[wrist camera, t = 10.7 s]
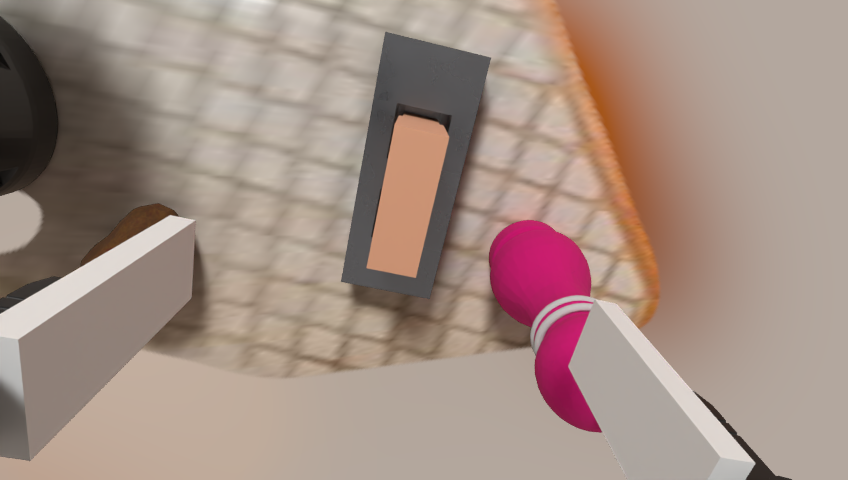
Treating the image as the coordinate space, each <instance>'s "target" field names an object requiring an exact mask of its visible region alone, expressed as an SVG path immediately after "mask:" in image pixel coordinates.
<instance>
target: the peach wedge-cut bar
mask: <svg viewBox="0 0 848 480" xmlns="http://www.w3.org/2000/svg"><path fill="white" fill-rule="evenodd" d="M448 141H449V135H448V133H447V131H446V129H445V127H444V126H443V125H440V124H439V122H438V119H435V118H430V117H426V116H422V115H417V114H413V113H409V112H404V114H403V116H400V115H399V117H398V119H397V121H396V123H395V125H394V130H393V136H392V141H391V146H390V151H389V156H388V161H387V166H386V171H385V176H384V181H383V186H382V191H381V197H380V202H379V207H378V212H377V217H376V222H375V227H374V232H373V237H372V242H371V247H370V253H369V258H368V263H367V268H368V269H373V270H378V271H383V272H389V273H394V274H399V275H404V276H409V277H414V278H416V275H417V271H418V267H419V262H420V258H421V254H422V250H423V246H424V241H425V237H426V233H427V229H428V225H429V221H430V216H431V212H432V208H433V204H434V200H435V195H436V191H437V187H438V183H439V179H440V175H441V170H442V166H443V162H444V158H445V154H446V149H447V145H448Z"/></svg>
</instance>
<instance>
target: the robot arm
mask: <svg viewBox="0 0 848 480" xmlns="http://www.w3.org/2000/svg"><path fill="white" fill-rule="evenodd" d="M56 138H57V111H56V105H55V101H54V96H53V93H52V90H51V87H50V84H49V82H48V79H47V77H46V75H45V73H44V71H43V69H42V67H41V65H40V63H39V61H38V60H37V58H36V56H35V55H34V53H33V52H32V50H31V49H30V48H29V46H28V45H27V44H26V42H25V41H24V40H23V39H22V37H21V36H20V35H19V34H18V33H17V32H16V31H15V30H14V29H13V28H12V27H11V26H10V25H9V24H8V23H7V22H6V21H5V20H4V19H3V18H2V17H0V196H2V195H5V194H8V193H12V192H15V191H17V190H19V189H21V188H23V187H25V186H27V185H28V184H30V183H31V182H32V181H33V180H35V179H36V178H37V177H38V176H39V175H40V174H41V172H42V171H43V170H44V168H45V167H46V166H47V164H48V162H49V160H50V158H51V156H52V153H53V150H54V147H55V143H56ZM195 225H196V220H192V219H187V218H182V217H177V216H172V215H170V216H168V217H166V218H165V219H163V220H161V221H159V222H158V223H156V224H154V225H152V226H151V227H149V228H147V229H146V230H144V231H142V232H140V233H139V234H137V235H135V236H134V237H132V238H130V239H128V240H127V241H125V242H123V243H121V244H120V245H118V246H116V247H115V248H113V249H111V250H109V251H108V252H106V253H104V254H103V255H101V256H99V257H97V258H96V259H94V260H92V261H90V262H89V263H87V264H85V265H84V266H82V267H80V268H78V269H77V270H75V271H73V272H72V273H70V274H68V275H66V276H65V277H63V278H60V277H55V276H53V277H50V278H46V279H43V280H40V281H36V282H33V283H30V284H27V285H25V286H23V287H21V288H19V289H18V290H16V291H14V292H12V293H10V294H8V295H7V297H6V298H4V297H3V298H1V299H0V456H1V457H8V458H15V459H22V460H29V461H31V459H33V458H34V456H35V455H36V454H37V453H38V452H39V451H40V450H41V449H42V448H43V447H44V446H45V445H46V444H47V443H48V442H49V441H50V440H51V439H52V438H53V437H54V436H55V435H56V434H57V433H58V432H59V431H60V430H61V429H62V428H63V427H64V426H65V425H66V424H67V423H68V422H69V421H70V420H71V419H72V418H73V417H74V416H75V415H76V414H77V413H78V412H79V411H80V410H81V409H82V408H83V407H84V406H85V405H86V404H87V403H88V402H89V401H90V400H91V399H92V398H93V397H94V396H95V395H96V394H97V393H98V392H99V391H100V390H101V389H102V388H103V387H104V386H105V385H106V383H108V382H109V381H110V380H111V379H112V378H113V377H114V376H115V375H116V374H117V373H118V372H119V371H120V370H121V369H122V368H123V367H124V366H125V365H126V363H128V362H129V361H130V360H131V359H132V358H133V357H134V356H135V355H136V354H137V353H138V352H139V351H140V350H141V349H142V348H143V347H144V346H145V345H146V344H147V343H148V342H149V341H150V340H151V339H152V338H153V337H154V336H155V335H156V334H157V333H158V332H159V331H160V330H161V329H162V327H163V326H164V325H165V324H166V323H167V322H168V321H169V320H170V319H171V318H172V317H173V316H174V315H175V314H176V313H177V312H178V311H179V310H180V309H181V308H182V307H183V306H184V305H185V304H186V303H187V302H188V301H189V300H190V299H191V298H192V282H193V263H194V244H195ZM568 367H569V369H570V371H571V373H572V375H573V377H574V379H575V381H576V383H577V385H578V387H579V389H580V390H581V392H582V394H583V396H584V398H585V400H586V402H587V404H588V406H589V408H590V410H591V412H592V413H593V415H594V417H595V419H596V421H597V423H598V425H599V427H600V429H601V431H602V433H603V434H604V436H605V438H606V440H607V442H608V444H609V446H610V448H611V450H612V452H613V454H614V456H615V457H616V459H617V461H618V463H619V465H620V467H621V469H622V471H623V473H624V475H625V476H626V479H627V480H792V479H789V478H785V477H781V476H775V475H774V474H773V473H772V471H771V470H770V469H769V468H768V467H767V466H766V465H765V464H764V462H763V461H762V460H761V459H760V458H759V457H758V456H757V455H756V453H755V452H754V451H753V450H752V449H751V448H750V447H749V446H748V445H747V443H746V442H745V441H744V440H743V439H742V438H741V437H740V436H737V432H736V431H735V430H734V429H733V428H732V427H731V426H730V425H729V423H726V420H725V419H724V418H723V417H722V416H721V414H720V413H719V412H718V411H717V410H716V409H715V408H714V407H713V406H712V405H711V404H710V403H709V402H707V401H706V400H705V399H703V398H702V397H701V396H699V395H698V394H697V393H696V392H694V391H692V390H691V389H690V388H689V386H688V385H687V384H686V383H685V382H684V381H683V380H682V379H681V377H680V376H679V375H678V374H677V373H676V372H675V370H674V369H673V368H672V367H671V366H670V365H669V364H668V363H667V361H666V360H665V359H664V358H663V357H662V356H661V354H660V353H659V352H658V351H657V350H656V349H655V348H654V346H653V345H652V344H651V343H650V342H649V341H648V339H647V338H646V337H645V336H644V335H643V334H642V333H641V331H640V330H639V329H638V328H637V327H636V326H635V325H634V323H633V322H632V321H631V320H630V319H629V318H628V317H627V315H626V314H625V313H624V312H623V311H622V310H621V309H620V307H619V306H618V305H617V304H616V303H611V302H606V301H601V300H596V299H595V300H594V303H593V305H592V308H591V310H590V313H589V315H588V318H587V320H586V323H585V325H584V328H583V330H582V333H581V335H580V338H579V340H578V343H577V345H576V348H575V350H574V353H573V356H572V358H571V361H570V363H569V366H568Z"/></svg>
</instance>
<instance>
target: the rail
mask: <svg viewBox="0 0 848 480" xmlns="http://www.w3.org/2000/svg"><path fill="white" fill-rule="evenodd" d="M490 60H491V58H490V57H486V56H482V55H478V54H474V53H470V52H465V51H461V50H457V49H453V48H449V47H445V46H441V45H437V44H433V43H429V42H425V41H421V40H417V39H413V38H408V37H404V36H400V35H396V34H392V33H388V32H385V37H384V43H383V48H382V54H381V60H380V65H379V71H378V77H377V82H376V88H375V94H374V99H373V105H372V110H371V116H370V122H369V127H368V133H367V139H366V144H365V150H364V156H363V161H362V167H361V172H360V178H359V184H358V189H357V195H356V201H355V206H354V212H353V217H352V223H351V229H350V234H349V240H348V246H347V251H346V257H345V263H344V268H343V274H342V279H341V282H345V283H350V284H355V285H361V286H366V287H371V288H376V289H381V290H386V291H391V292H397V293H402V294H407V295H412V296H417V297H422V298H427V299H430V295H431V291H432V287H433V283H434V279H435V275H436V271H437V267H438V264H439V260H440V256H441V252H442V248H443V244H444V240H445V236H446V232H447V228H448V224H449V220H450V217H451V213H452V209H453V205H454V201H455V197H456V193H457V189H458V185H459V181H460V177H461V173H462V170H463V166H464V162H465V158H466V154H467V150H468V146H469V142H470V138H471V134H472V130H473V126H474V122H475V119H476V115H477V111H478V107H479V103H480V99H481V95H482V91H483V87H484V83H485V79H486V75H487V72H488V68H489V64H490ZM404 112H409V113H413V114H417V115H422V116H426V117H430V118H435V119H438V122H439V124H440V125H443V126H444V127H445V129H446V131H447V133H448V135H449V141H448V145H447V149H446V154H445V158H444V162H443V166H442V170H441V175H440V179H439V183H438V187H437V191H436V195H435V200H434V204H433V208H432V212H431V216H430V221H429V225H428V229H427V233H426V237H425V241H424V246H423V250H422V254H421V258H420V262H419V267H418V271H417V275H416V278H414V277H409V276H404V275H399V274H394V273H389V272H383V271H378V270H373V269H368V268H367V263H368V258H369V253H370V247H371V242H372V237H373V232H374V227H375V222H376V217H377V212H378V207H379V202H380V197H381V191H382V186H383V181H384V176H385V171H386V166H387V161H388V156H389V151H390V146H391V141H392V136H393V130H394V125H395V123H396V121H397V119H398V117H399V115H400V116H403V114H404Z"/></svg>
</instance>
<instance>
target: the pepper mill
mask: <svg viewBox="0 0 848 480" xmlns="http://www.w3.org/2000/svg"><path fill="white" fill-rule="evenodd" d="M489 263H490V267H491V273H490V281H491V287H492V291H493V293H494V295H495V297H496V299H497V301H498V303H499V304H500V305H501V307H502V308H503V309H504V311H506V312H507V313H508V314H509V315H510V316H511V317H513V318H514V319H515V320H517V321H518V322H520V323H522V324H524V325H527V326H529V327H532V328H531V332H530V340H531V346H532V349H533V351H534V353H535V355H536V359H535V376H536V380H537V384H538V388H539V390H540V392H541V394H542V396H543V398H544V400H545V401H546V403H547V404H548V405H549V407H551V409H552V410H553V411H554V412H555V413H556V414H557V415H558V416H559V417H560V418H561V419H563V420H564V421H566V422H567V423H569V424H571V425H573V426H575V427H577V428H579V429H583V430H586V431H591V432H602V431H601V429H600V427H599V425H598V423H597V421H596V419H595V417H594V415H593V413H592V412H591V410H590V408H589V406H588V404H587V402H586V400H585V398H584V396H583V394H582V392H581V390H580V389H579V387H578V385H577V383H576V381H575V379H574V377H573V375H572V373H571V371H570V369H569V367H568V366H569V363H570V361H571V358H572V356H573V353H574V350H575V348H576V345H577V343H578V340H579V338H580V335H581V333H582V330H583V328H584V325H585V323H586V320H587V318H588V315H589V313H590V310H591V308H592V305H593V303H594V300H595V298H592V297H590V291H591V276H590V270H589V266H588V263H587V260H586V259H585V257H584V255H583V253H582V252H581V250H580V249H579V247H578V246H577V245H576V244H575V243H574V242H573V241H572V240H571V239H569V238H568V237H566V236H565V235H563V234H561V233H558V232H556V231H555V230H554V229H553V228H551V227H550V226H548V225H547V224H545V223H542V222H539V221H534V220H525V221H519V222H516V223H514V224H511V225H509V226H508V227H506V228H505V229H503V230H502V231H501V232H500V233H499V234H498V235H497V237H496V238H495V239H494V241H493V243H492V245H491V248H490V253H489ZM596 300H597V299H596Z"/></svg>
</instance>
